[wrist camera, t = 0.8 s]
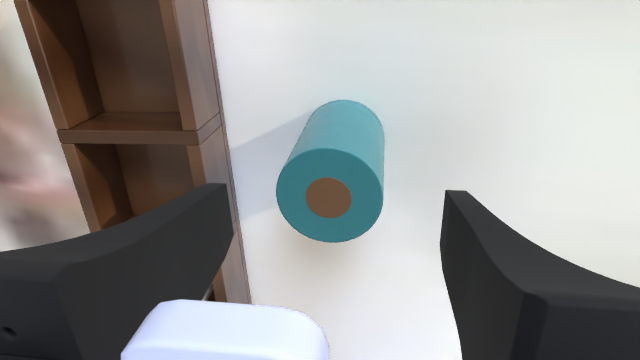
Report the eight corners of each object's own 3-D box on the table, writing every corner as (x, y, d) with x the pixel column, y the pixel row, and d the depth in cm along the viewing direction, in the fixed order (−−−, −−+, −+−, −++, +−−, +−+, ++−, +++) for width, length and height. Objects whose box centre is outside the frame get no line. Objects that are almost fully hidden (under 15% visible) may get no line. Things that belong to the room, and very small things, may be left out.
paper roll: (383, 175, 23) (381, 245, 17) (306, 173, 23) (280, 240, 18) (385, 99, 21) (384, 149, 15) (302, 99, 22) (271, 147, 16)
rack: (252, 306, 28) (235, 347, 25) (152, 299, 29) (124, 337, 26) (203, -28, 20) (168, -27, 16) (63, -21, 21) (5, -19, 17)
